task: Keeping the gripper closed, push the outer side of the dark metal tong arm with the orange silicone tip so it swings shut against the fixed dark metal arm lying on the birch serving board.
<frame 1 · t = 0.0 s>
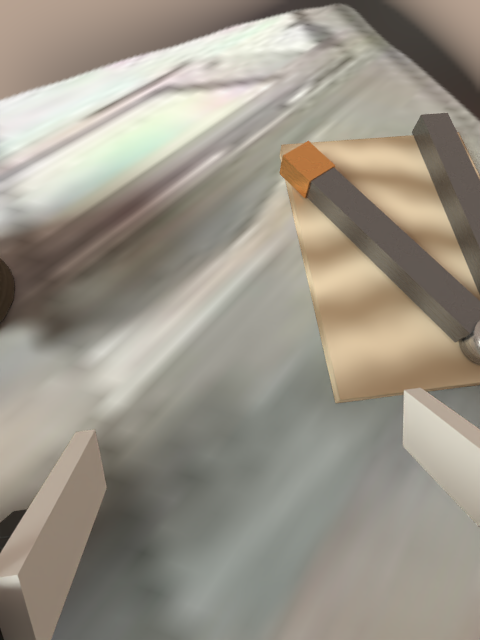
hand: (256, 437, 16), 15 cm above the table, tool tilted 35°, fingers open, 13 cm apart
tong arm: (388, 245, 34), point 3 cm above the table, hinge at 30.0°
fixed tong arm: (477, 347, 32), resting on serving board
serving board: (402, 252, 38), on the table
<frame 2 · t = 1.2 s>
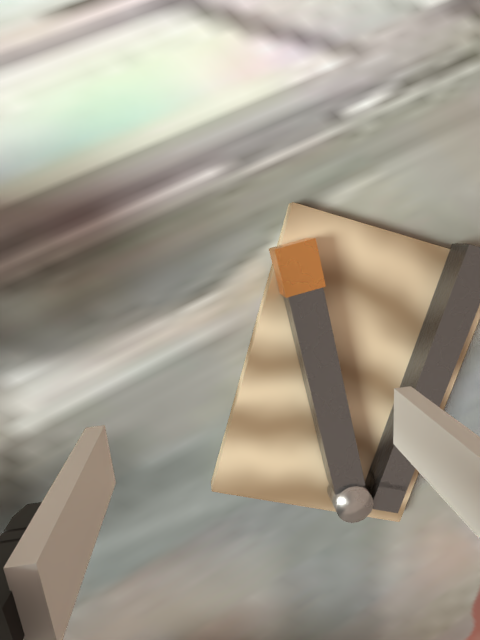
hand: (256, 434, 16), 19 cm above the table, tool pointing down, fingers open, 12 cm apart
tong arm: (325, 390, 34), point 3 cm above the table, hinge at 30.0°
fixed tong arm: (343, 486, 38), resting on serving board
serving board: (346, 375, 37), on the table
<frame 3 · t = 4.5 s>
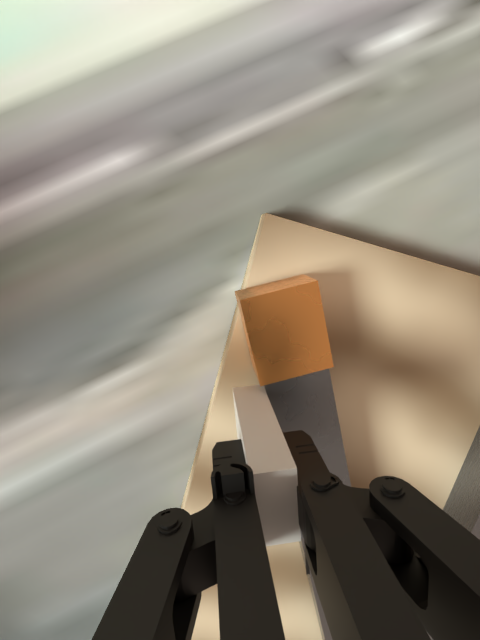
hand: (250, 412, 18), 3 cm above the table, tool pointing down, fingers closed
tong arm: (326, 528, 20), point 3 cm above the table, hinge at 28.7°, touching gripper
serving board: (356, 486, 23), on the table
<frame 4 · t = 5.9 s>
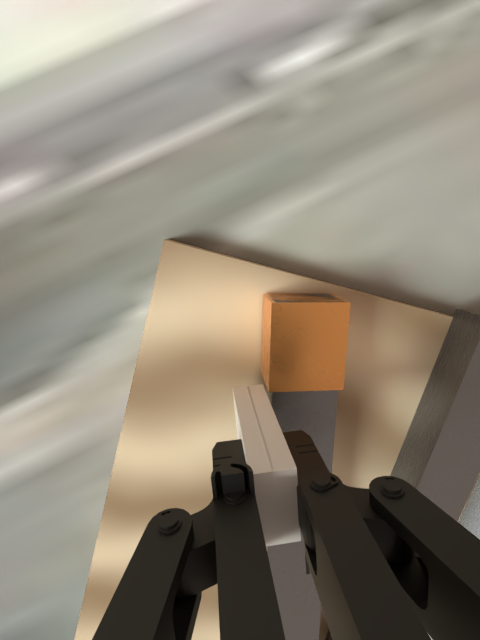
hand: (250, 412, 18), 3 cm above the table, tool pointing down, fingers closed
tong arm: (291, 547, 20), point 3 cm above the table, hinge at 14.6°, touching gripper
serving board: (281, 509, 23), on the table
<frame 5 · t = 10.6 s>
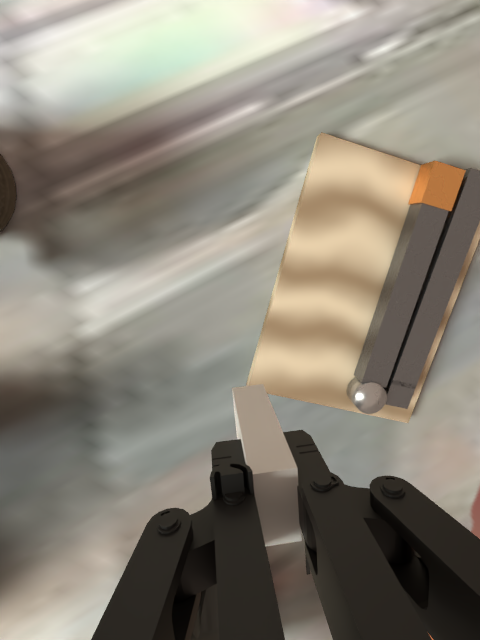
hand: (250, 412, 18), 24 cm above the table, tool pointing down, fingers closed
tong arm: (399, 295, 40), point 3 cm above the table, hinge at 0.7°
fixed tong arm: (360, 388, 44), resting on serving board
serving board: (363, 290, 43), on the table
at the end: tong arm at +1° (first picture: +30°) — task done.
